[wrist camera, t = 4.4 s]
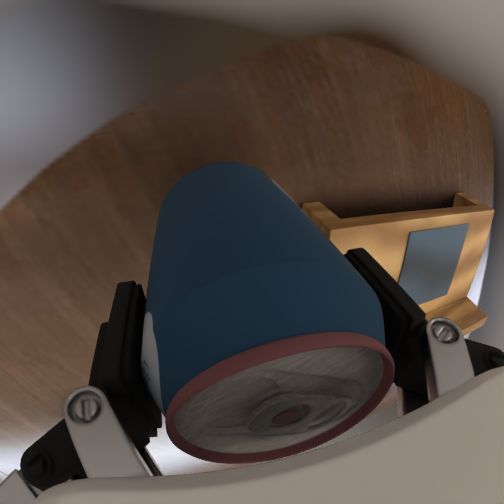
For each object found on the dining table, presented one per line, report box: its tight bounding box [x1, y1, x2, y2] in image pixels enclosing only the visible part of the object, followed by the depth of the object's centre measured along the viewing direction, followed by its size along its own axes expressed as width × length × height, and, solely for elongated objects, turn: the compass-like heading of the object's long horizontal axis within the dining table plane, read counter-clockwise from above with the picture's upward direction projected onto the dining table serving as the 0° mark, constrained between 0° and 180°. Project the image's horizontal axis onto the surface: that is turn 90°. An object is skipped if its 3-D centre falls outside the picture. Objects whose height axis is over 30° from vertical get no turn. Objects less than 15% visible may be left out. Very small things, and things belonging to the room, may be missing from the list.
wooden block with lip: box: [302, 193, 494, 336], centre depth 23 cm, size 12×20×9 cm, turn 92°
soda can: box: [141, 162, 395, 464], centre depth 11 cm, size 7×7×12 cm
